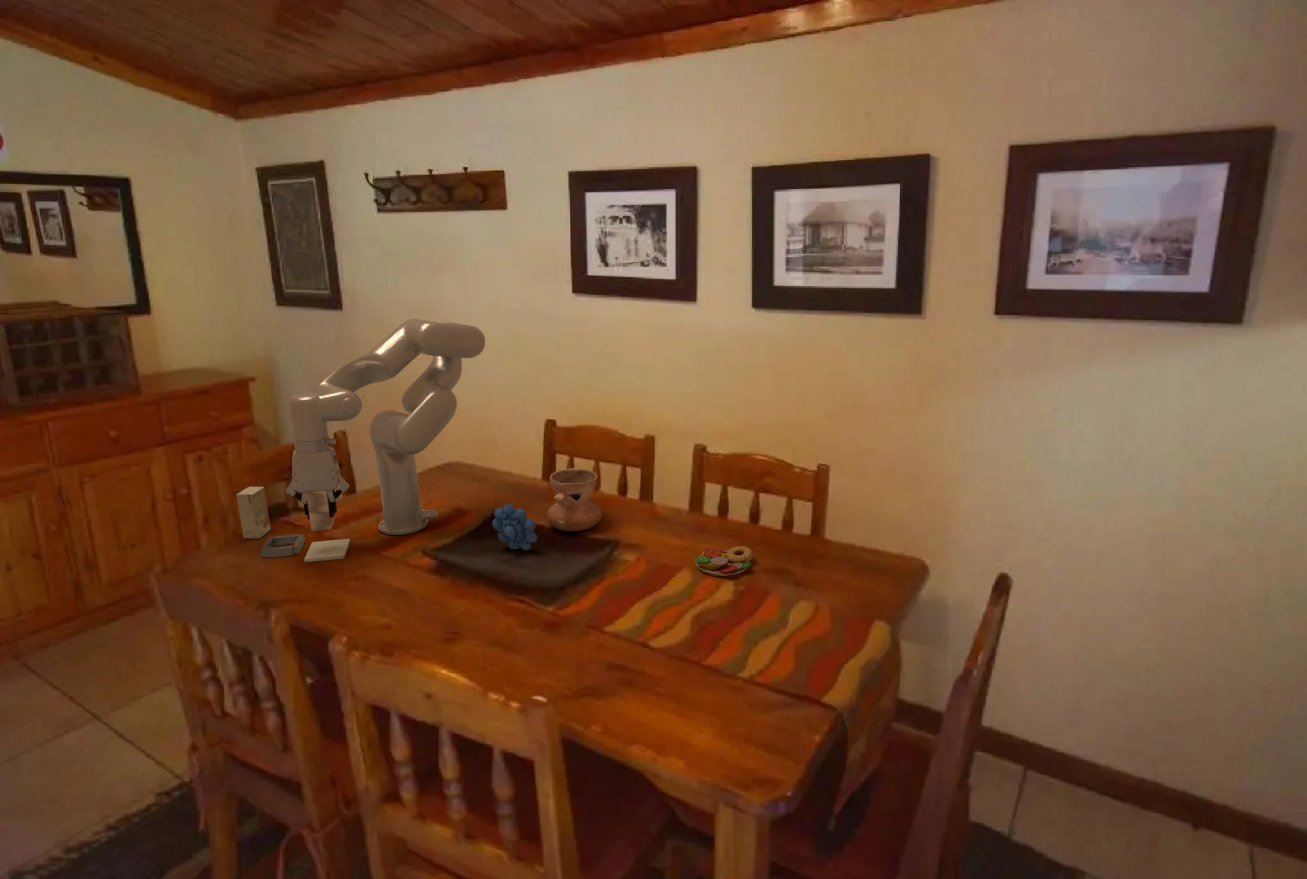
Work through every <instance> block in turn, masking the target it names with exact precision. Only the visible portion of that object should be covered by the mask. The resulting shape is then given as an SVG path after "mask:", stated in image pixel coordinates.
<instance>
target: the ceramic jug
mask: <svg viewBox="0 0 1307 879" xmlns="http://www.w3.org/2000/svg"><path fill="white" fill-rule="evenodd" d="M597 480H598V475H597V473H596V472H595V471H592V470H590V469H586V468H574V467H573V468H565V469H560V470H557V471H555V472H553V473H551V474H550V476H549V482H550V486H551V489H552V492H553V494H554V500H555V501H557V502H556V503H554V504H553V505H552V506H550V507H549V509H548V510H547V513H546V519H547V522H548V523H549V525H550V526H552V527H553V528H554V529H557V530H560V531H563V532H581V531H586V530H589V529H591V528H594V527H595V526H596V525H597V524H599V522H600V521H601V519H602V517H603V516H602V515H603V513H602V510H601V509H600V507H599V506H598V505H597V504H595V503H594V502H592V501H591V498H592V496H593V494H594V492H595V489H596V486H597Z"/></svg>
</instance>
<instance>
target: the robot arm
mask: <svg viewBox="0 0 1307 879" xmlns="http://www.w3.org/2000/svg"><path fill="white" fill-rule="evenodd" d="M485 347H486V338H485V335H484V333H483V332H482V331H481V329H479V328H478V327H476V326H474V325H470V324H463V323H458V322H450V321H449V322H443V323H441V322H436V321H429V320H424V319H418V318H412V319H408V320H405V321H404V322H402V323H401V324H400V325H399V326H398V327H397V328H395V329H394V330H393V331H392V332H390V333H389V334H388V335H387V336H386V337H385V338H384V339H383V340H382V341H381V342H379V343H377V345H375V347H373V348H372V349H371V350H370V351H368V352H367V353H365V354H363V355H361V356H359V357H357V358H355V359H353V360H351V361H349V362H346V364H343V365H341V366H340V367H339V368H337V369H336V370H334V371H333V372H331V373H330V374H329V375H328V376H327V377H326V378H324V379H323V380H322V381H321V382H320V383H319V384H318V385H317V386H316V387H315V389H314V390H313V391H309V392H307V391H306V392H300V393H295V394H293V395H291V396H290V398H289V400H288V407H289V414H290V421H291V427H292V434H293V435H292V436H293V441H294V442H293V444H294V450H293V451H292V457H291V458H292V459H291V462H292V463H291V467H292V468H291V472H292V476H291V477H292V480H291V482H290V484H289V485H288V486H287V488H286V490H285V493H286V494H288V495H290V496H292V497H294V498H295V499H297V500H298V501H299V502H301V504H302V505H303V510H304V515H305V516H307V520H310V516H309V509H308V501H307V494H306V492H309V491H323V490H326V491H327V494H328V497H329V503H328V505H329V513H330V517H331V518H333V519H334V516H335V514H336V513H337V512H338V510H337V509H338V508H337V507H338V506H337V499H338V498H339V496H341V494H343V493H344V492H346V491H348V489H349V487H350V484H349V483H348V482H347V481H346V480H345V478H343V477H342V476H341V472H340V467H339V462H338V461H339V460H338V458H337V454H336V451H335V448H334V447H333V445H336V443H337V442H336V438H331V437H330V435H329V431H328V430H329V429H328V423H329V422H343V421H344V422H345V421H350V420H352V419H355V418H356V417H357V416H358V415H360V413H361V411H362V408H363V402H362V399H361V398H360V396H359V395H358V394H357V393H356V392H357V391H358V390H360V389H362V388H365V387H366V386H369V385H373V384H377V383H382V382H386V381H389V380H391V379H394V378H395V377H396V376H398V374H400V373H401V372H402V371H403V370H404V369H405V368H406V367H408V365H409V364H410V363H412V362H413V361H414V360H415V359H417V357H418V356H420V355H421V354H422V355H427V356H431V357H433V358H432V360H431V362H430V364H429V365H428V366H427V368H426V369H425V370H424V371H423V372H422V373H421V374H420V375H419V377H417V378H416V380H414V381H413V383H412V384H411V385H409V387H408V388H407V389H406V390H405V391H404V393H403V394H402V396H401V407H403V410H404V411H406V413H403V412H401V411H398V410H397V411H396V410H391V409H390V410H387V409H386V410H383V411H380V412H378V413H377V414H376V415H375V416H374V417H373V418H372V420H371V422H370V425H369V435H370V440H371V443H372V446H373V450H374V454H375V459H376V466H377V473H378V481H379V482H378V483H379V490H380V499H381V506H382V513H383V519H382V520H380V522H379V523H378V527H377V528H378V530H379V532H381V533H382V534H385V535H391V536H398V535H399V536H401V535H402V536H403V535H410V534H412V533H417V532H418V531H421V530H422V529H424V528H426V527H427V526H428V523H429V520H430V519H432V520H434V519H435V520H436V519H439V511H438V510H436V511H435V509H434V508H433V509H432V508H431V509H425V508H423V504H421V503H420V502H421V501H420V492H419V482H418V473H417V472H418V471H417V463H416V457H415V455H417V454H419V453H421V452H422V451H424V450H425V449H426V448H427V447H428V446H429V445H431V443H432V442H433V441H434V440H435V439H436V438H437V436H438V435H439V434H440V433H441V432H442V431H443V430H444V429H445V428H446V426H448V424H449V423H450V422H451V420H452V419H453V418H454V416H455V413H456V411H457V407H458V406H457V404H458V403H457V402H458V400H457V397H456V396H455V393H454V392H453V391H452V390H453V389H454V388H455V387H456V386H457V384H458V382H459V381H460V379H461V376H462V371H463V368H462V367H463V366H462V365H463V361H462V360H463V359H472V358H476V357H478V356H479V355H481V353H483V351H484V349H485ZM339 485H340V487H339ZM338 487H339V488H338Z"/></svg>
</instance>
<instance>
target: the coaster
mask: <svg viewBox="0 0 1307 879" xmlns="http://www.w3.org/2000/svg"><path fill="white" fill-rule="evenodd" d="M350 543H351V539H350V538H342V539H332V540H323V541H312V542H311V544H310V545H309V549H308V550H307V552H306V554H305V557H304V558H303V559H304V560H303V561H304V563H310V562H321V561H328V560H329V561H331V560H340V559H345V557H346V554H347V553H348V552H347V551H348V549H349V547H350Z"/></svg>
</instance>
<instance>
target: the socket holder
mask: <svg viewBox="0 0 1307 879" xmlns="http://www.w3.org/2000/svg"><path fill="white" fill-rule="evenodd" d="M305 543H306V539H305V535H304V534H300V533H299V534H298V533H297V534H287V535H276V536H272V537H268V538H267V539H266V541H265V543H264V544H263V546H262V547H261V549H260V552H261V557H262V558H267V559H269V558H270V559H271V558H281V557H288V556H294V555H299V554H300V553H301V551H302V549H303V547H304V545H305ZM285 545H288V546H285ZM289 545H290V546H289ZM275 546H277V547H275Z"/></svg>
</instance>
